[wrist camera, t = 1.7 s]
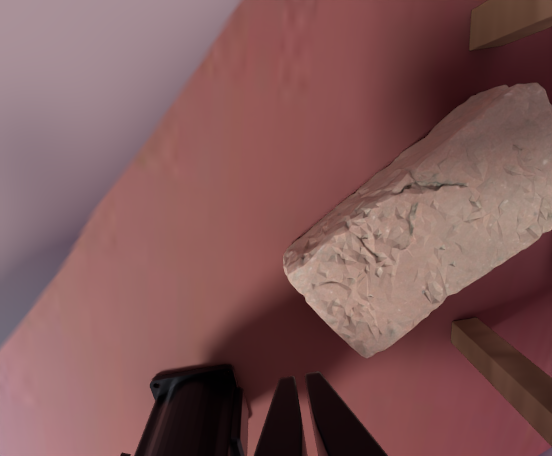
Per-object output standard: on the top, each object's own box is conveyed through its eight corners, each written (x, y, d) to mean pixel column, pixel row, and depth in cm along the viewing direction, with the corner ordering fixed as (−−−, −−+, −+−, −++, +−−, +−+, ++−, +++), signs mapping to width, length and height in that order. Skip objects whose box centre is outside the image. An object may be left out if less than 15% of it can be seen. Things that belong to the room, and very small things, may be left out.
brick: (478, 83, 17) (556, 63, 13) (531, 185, 19) (614, 199, 15) (274, 249, 20) (279, 281, 15) (343, 322, 22) (365, 369, 17)
